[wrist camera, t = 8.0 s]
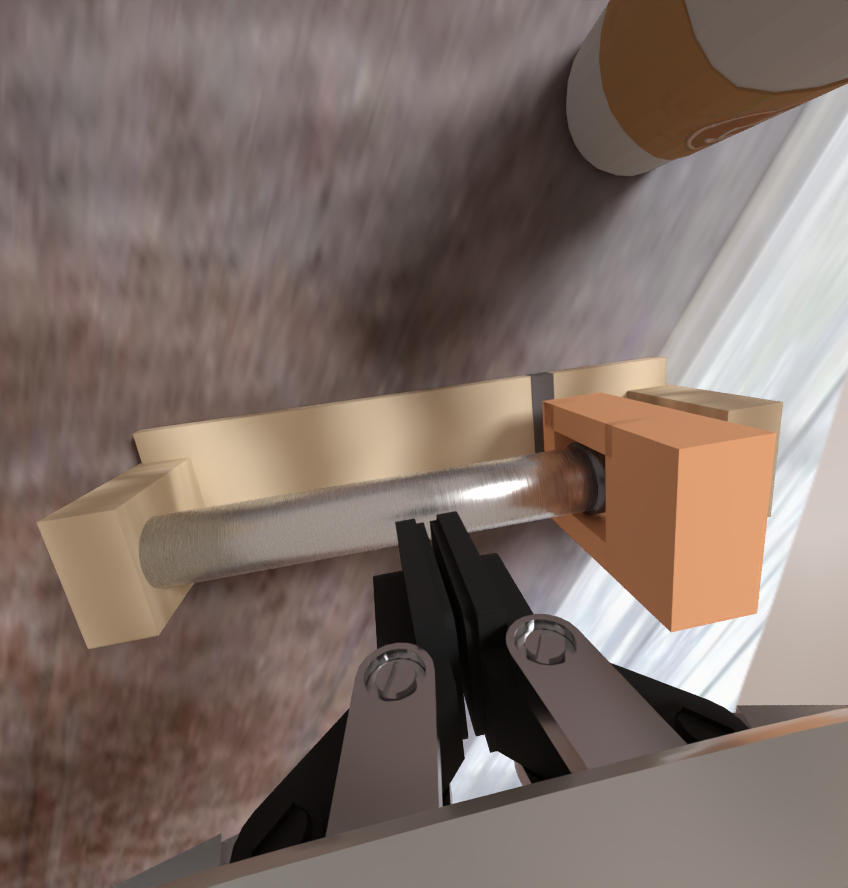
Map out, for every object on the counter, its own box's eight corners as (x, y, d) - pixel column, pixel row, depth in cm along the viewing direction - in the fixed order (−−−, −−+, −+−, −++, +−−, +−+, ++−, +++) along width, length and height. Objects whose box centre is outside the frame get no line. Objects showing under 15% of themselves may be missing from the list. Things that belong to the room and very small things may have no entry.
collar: (547, 514, 22) (671, 632, 13) (542, 401, 20) (679, 449, 11) (601, 504, 22) (756, 613, 13) (600, 392, 20) (776, 432, 12)
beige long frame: (182, 575, 22) (101, 683, 15) (136, 430, 20) (19, 479, 13) (655, 489, 25) (767, 547, 18) (659, 356, 23) (787, 364, 16)
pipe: (159, 571, 18) (117, 619, 15) (136, 503, 17) (87, 539, 14) (688, 476, 21) (744, 501, 18) (691, 413, 20) (751, 428, 17)
